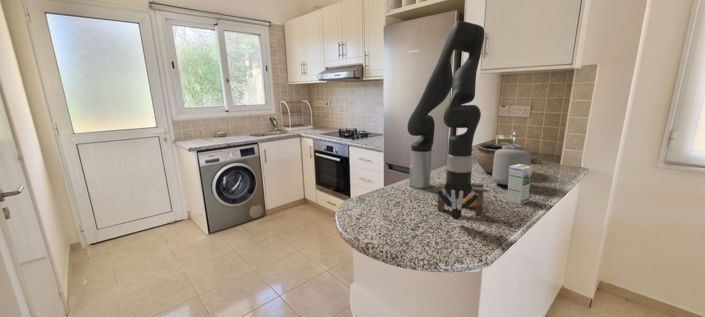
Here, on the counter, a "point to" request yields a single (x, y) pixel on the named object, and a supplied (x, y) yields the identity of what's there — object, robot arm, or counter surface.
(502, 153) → the jar
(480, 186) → the stopper
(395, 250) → the counter surface
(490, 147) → the ceramic bowl
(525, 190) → the syrup box
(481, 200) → the bridge
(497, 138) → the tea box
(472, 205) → the ball
